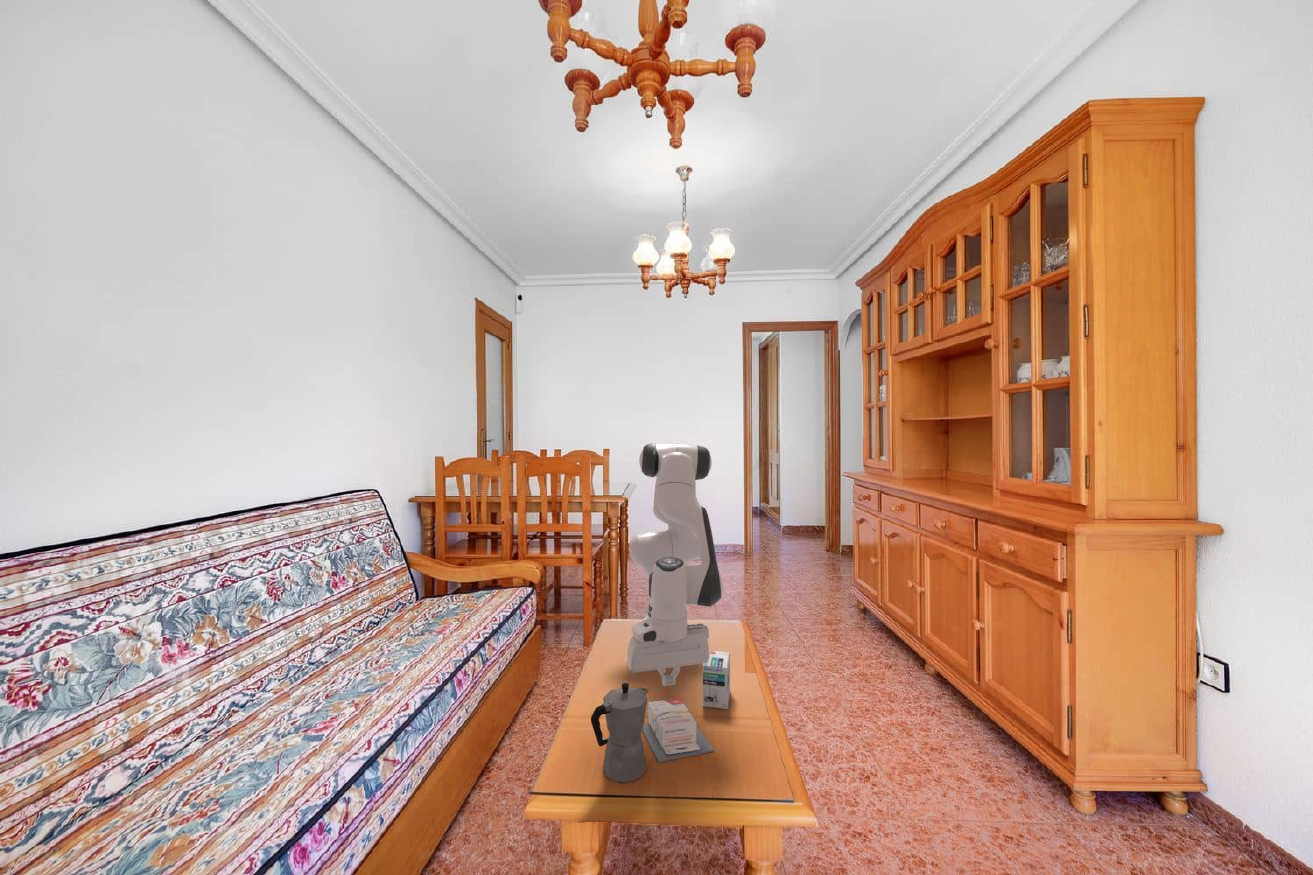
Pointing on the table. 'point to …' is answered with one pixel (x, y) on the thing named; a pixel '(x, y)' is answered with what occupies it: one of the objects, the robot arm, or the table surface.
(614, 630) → the table surface
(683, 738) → the ink cartridge box
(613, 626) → the table surface
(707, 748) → the mat
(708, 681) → the light bulb box
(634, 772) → the coffeepot
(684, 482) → the robot arm
